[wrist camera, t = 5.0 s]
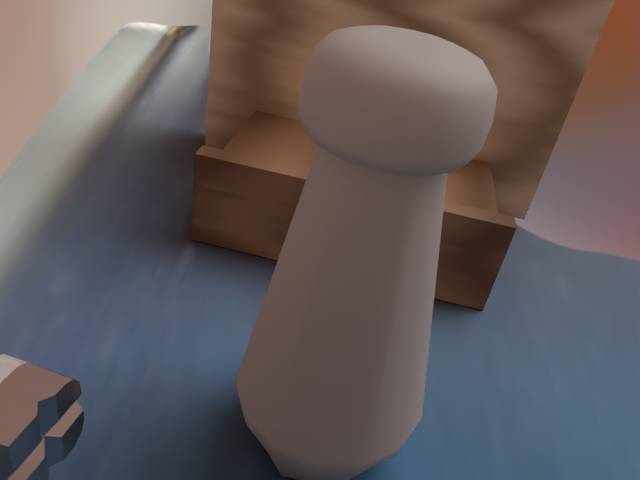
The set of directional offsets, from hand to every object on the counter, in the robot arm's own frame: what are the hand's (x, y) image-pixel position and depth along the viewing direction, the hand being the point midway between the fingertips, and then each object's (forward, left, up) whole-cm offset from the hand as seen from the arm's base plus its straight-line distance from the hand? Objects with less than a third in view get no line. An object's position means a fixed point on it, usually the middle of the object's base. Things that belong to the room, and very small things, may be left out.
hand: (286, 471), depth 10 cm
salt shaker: (0, -7, -7) cm, 10 cm away
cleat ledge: (+1, -21, -7) cm, 22 cm away
